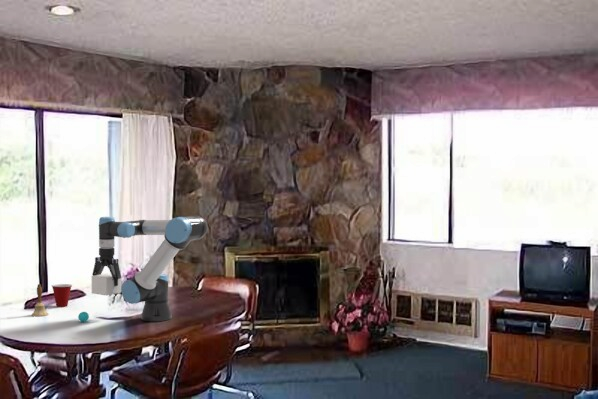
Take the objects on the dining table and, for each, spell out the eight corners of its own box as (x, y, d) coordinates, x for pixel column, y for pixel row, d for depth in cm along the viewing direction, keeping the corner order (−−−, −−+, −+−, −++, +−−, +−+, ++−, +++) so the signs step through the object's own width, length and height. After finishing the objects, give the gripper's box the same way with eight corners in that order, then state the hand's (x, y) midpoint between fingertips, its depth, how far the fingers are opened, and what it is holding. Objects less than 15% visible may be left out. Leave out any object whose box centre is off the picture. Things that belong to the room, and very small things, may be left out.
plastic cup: (75, 304, 387) (75, 282, 387) (67, 308, 377) (67, 286, 376) (57, 303, 388) (56, 282, 388) (48, 307, 378) (47, 285, 377)
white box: (121, 292, 354) (121, 275, 353) (106, 295, 345) (106, 277, 344) (106, 290, 359) (106, 273, 358) (91, 293, 350) (91, 275, 349)
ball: (91, 321, 346) (91, 311, 345) (83, 323, 341) (82, 313, 341) (84, 320, 348) (84, 310, 348) (76, 322, 344) (76, 312, 344)
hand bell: (42, 317, 355) (42, 286, 354) (28, 316, 357) (27, 285, 356) (51, 313, 363) (51, 283, 362) (37, 312, 365) (37, 282, 364)
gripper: (84, 246, 353) (84, 289, 354) (117, 250, 342) (117, 294, 343) (96, 245, 359) (96, 287, 361) (128, 248, 348) (128, 292, 349)
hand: (106, 291), depth 352 cm, fingers closed on white box, 10 cm apart
